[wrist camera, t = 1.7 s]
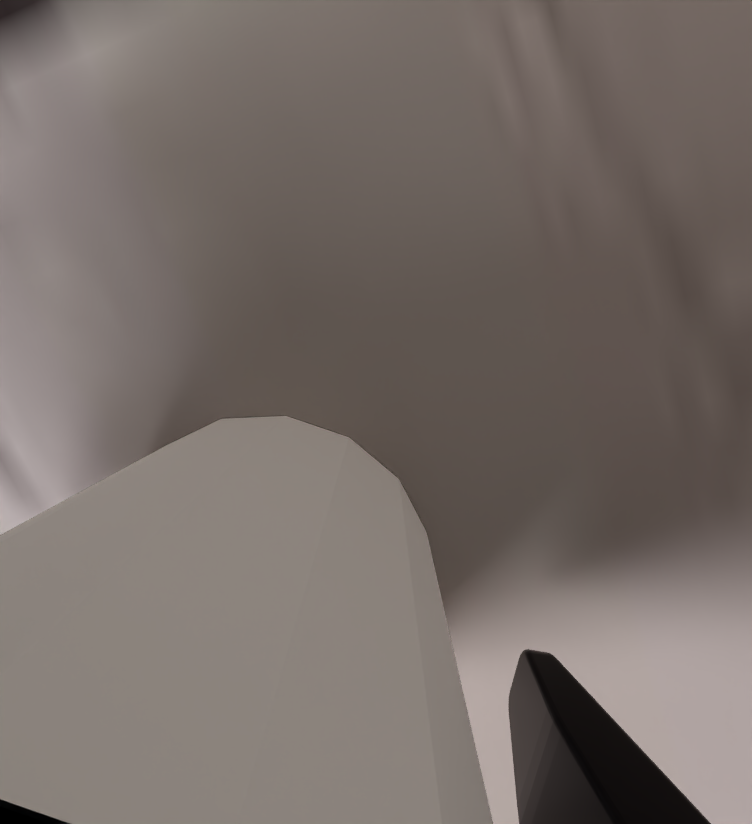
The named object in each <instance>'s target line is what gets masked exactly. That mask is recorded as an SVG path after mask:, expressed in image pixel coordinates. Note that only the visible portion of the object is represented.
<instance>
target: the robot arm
mask: <svg viewBox="0 0 752 824" xmlns="http://www.w3.org/2000/svg"><path fill="white" fill-rule="evenodd" d="M509 719H510V730H511V741H512V752H513V763H514V774H515V785H516V796H517V807H518V816H519V824H711V823H710V822H709V821H708V820H707V819H706V818H705V817H704V816H703V815H702V814H701V813H700V812H699V810H698V809H697V808H696V807H695V806H694V805H693V804H692V803H691V802H690V801H689V800H688V799H687V798H686V797H685V795H684V794H683V793H682V792H681V791H680V790H679V789H678V788H677V787H676V786H675V785H674V784H673V783H672V782H671V780H670V779H669V778H668V777H667V776H666V775H665V774H664V773H663V772H662V771H661V770H660V769H659V768H658V767H657V766H656V764H655V763H654V762H653V761H652V760H651V759H650V758H649V757H648V756H647V755H646V754H645V753H644V752H643V751H642V749H641V748H640V747H639V746H638V745H637V744H636V743H635V742H634V741H633V740H632V739H631V738H630V737H629V736H628V734H627V733H626V732H625V731H624V730H623V729H622V728H621V727H620V726H619V725H618V724H617V723H616V722H615V721H614V720H613V718H612V717H611V716H610V715H609V714H608V713H607V712H606V711H605V710H604V709H603V708H602V707H601V706H600V705H599V703H598V702H597V701H596V700H595V699H594V698H593V697H592V696H591V695H590V694H589V693H588V692H587V691H586V690H585V689H584V687H583V686H582V685H581V684H580V683H579V682H578V681H577V680H576V679H575V678H574V677H573V676H572V675H571V674H570V672H569V671H568V670H567V669H566V668H565V667H564V666H563V665H562V664H561V663H560V662H559V661H558V660H557V659H556V658H555V657H554V656H553V655H552V654H550V653H547V652H541V651H535V650H529V649H527V650H524V651H523V652H522V653H521V655H520V658H519V661H518V665H517V668H516V672H515V675H514V679H513V682H512V686H511V690H510V694H509Z"/></svg>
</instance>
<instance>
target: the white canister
mask: <svg viewBox="0 0 752 824" xmlns="http://www.w3.org/2000/svg"><path fill="white" fill-rule="evenodd" d="M0 824H493V821H492V817H491V812H490V808H489V804H488V799H487V795H486V790H485V786H484V782H483V777H482V773H481V769H480V764H479V760H478V755H477V751H476V747H475V742H474V738H473V733H472V729H471V725H470V720H469V716H468V712H467V707H466V703H465V698H464V694H463V690H462V685H461V681H460V676H459V672H458V668H457V663H456V659H455V655H454V650H453V646H452V641H451V637H450V633H449V628H448V624H447V620H446V615H445V611H444V606H443V602H442V598H441V593H440V589H439V584H438V580H437V576H436V571H435V567H434V563H433V558H432V554H431V549H430V545H429V541H428V536H427V532H426V530H425V528H424V526H423V524H422V522H421V521H420V519H419V517H418V515H417V513H416V511H415V509H414V507H413V505H412V503H411V501H410V499H409V497H408V495H407V494H406V492H405V490H404V488H403V486H402V484H401V482H400V480H399V479H398V478H397V477H396V476H395V475H394V474H392V473H391V472H390V471H389V470H388V469H386V468H385V467H384V466H383V465H382V464H380V463H379V462H378V461H377V460H376V459H374V458H373V457H372V456H371V455H370V454H368V453H367V452H366V451H365V450H364V449H362V448H361V447H360V446H359V445H358V444H357V443H355V442H354V441H353V440H352V439H351V438H349V437H347V436H344V435H341V434H338V433H335V432H332V431H329V430H326V429H323V428H320V427H317V426H314V425H311V424H308V423H305V422H303V421H300V420H297V419H294V418H291V417H288V416H271V417H249V418H227V419H219V420H217V421H215V422H213V423H211V424H209V425H207V426H205V427H203V428H201V429H199V430H197V431H195V432H193V433H191V434H189V435H186V436H184V437H182V438H180V439H178V440H176V441H174V442H172V443H170V444H168V445H166V446H164V447H162V448H160V449H159V450H157V451H155V452H153V453H151V454H149V455H148V456H146V457H144V458H142V459H140V460H138V461H136V462H135V463H133V464H131V465H129V466H127V467H125V468H123V469H122V470H120V471H118V472H116V473H114V474H112V475H111V476H109V477H107V478H105V479H103V480H101V481H99V482H98V483H96V484H94V485H92V486H90V487H88V488H87V489H85V490H83V491H81V492H79V493H77V494H75V495H74V496H72V497H70V498H68V499H66V500H64V501H62V502H61V503H59V504H57V505H55V506H53V507H51V508H50V509H48V510H46V511H44V512H42V513H40V514H38V515H37V516H35V517H33V518H31V519H29V520H27V521H26V522H24V523H22V524H20V525H18V526H16V527H14V528H13V529H11V530H9V531H7V532H5V533H3V534H1V535H0Z"/></svg>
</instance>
